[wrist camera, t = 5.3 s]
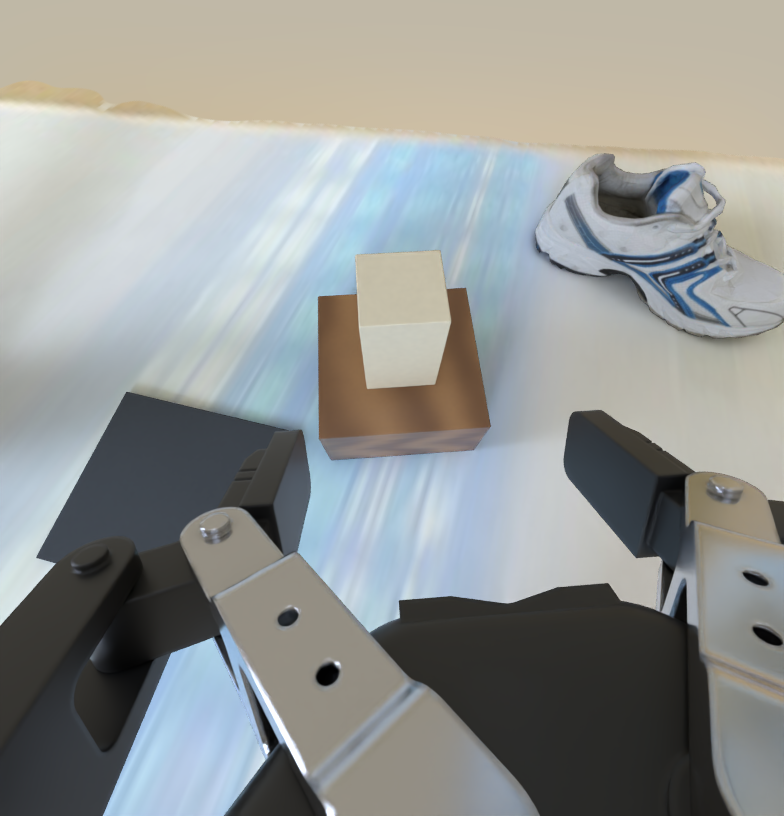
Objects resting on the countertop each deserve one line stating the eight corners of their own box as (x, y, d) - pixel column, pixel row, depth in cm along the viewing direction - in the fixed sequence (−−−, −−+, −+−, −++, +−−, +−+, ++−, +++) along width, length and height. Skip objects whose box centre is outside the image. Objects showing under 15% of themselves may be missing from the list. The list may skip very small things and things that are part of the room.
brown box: (330, 460, 32) (318, 439, 27) (328, 336, 37) (317, 296, 31) (473, 450, 33) (491, 427, 27) (454, 328, 37) (466, 287, 32)
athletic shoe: (756, 362, 36) (910, 242, 26) (514, 279, 39) (569, 148, 30) (745, 299, 41) (869, 181, 31) (534, 232, 45) (586, 108, 35)
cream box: (367, 389, 28) (358, 327, 21) (363, 330, 30) (354, 254, 23) (435, 384, 28) (451, 321, 21) (428, 326, 30) (440, 249, 23)
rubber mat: (40, 557, 29) (35, 557, 29) (129, 393, 34) (126, 391, 34) (238, 613, 28) (236, 614, 28) (301, 434, 33) (299, 433, 33)
